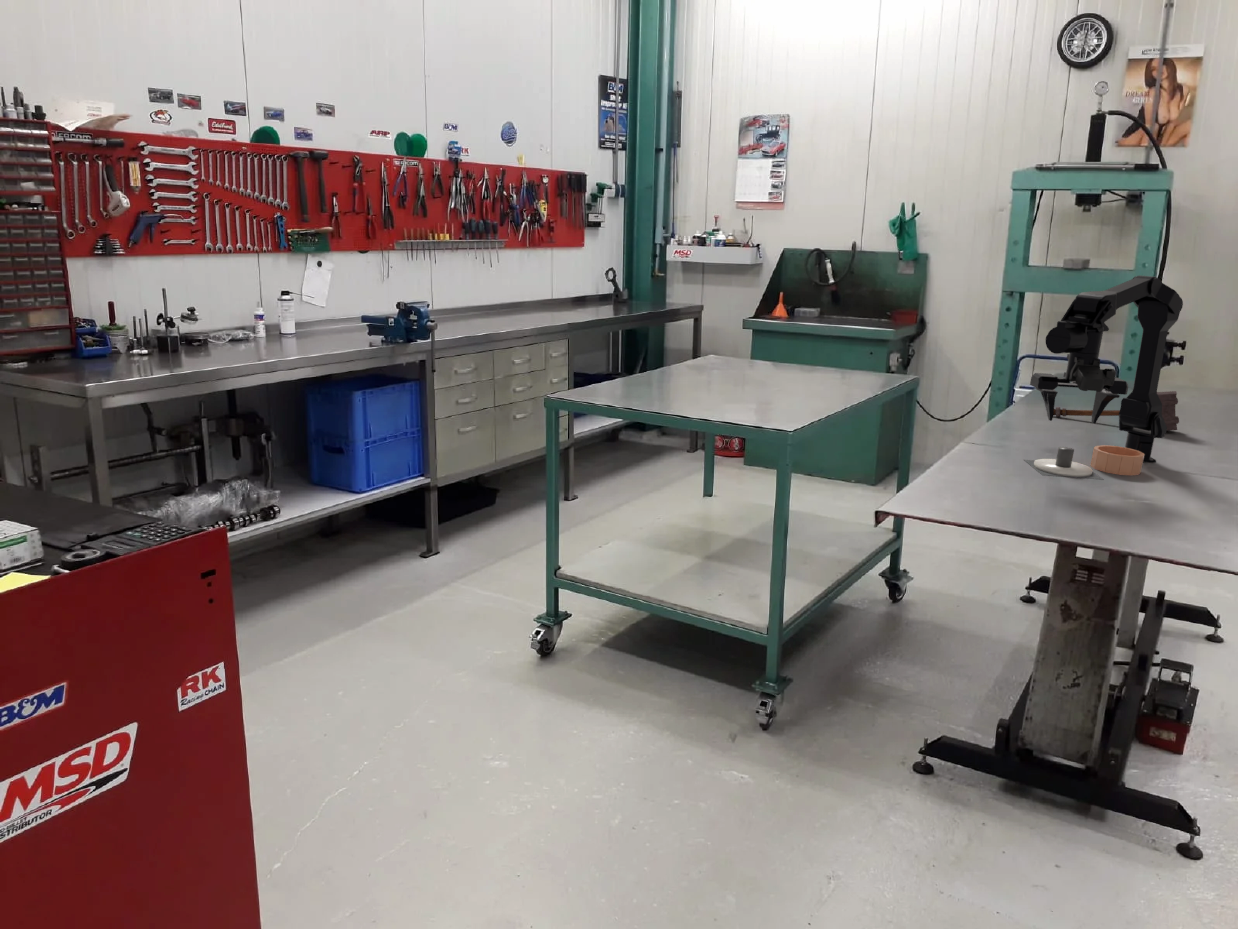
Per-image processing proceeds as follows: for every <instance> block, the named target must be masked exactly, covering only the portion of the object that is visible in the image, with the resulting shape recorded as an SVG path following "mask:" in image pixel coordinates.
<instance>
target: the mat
mask: <svg viewBox="0 0 1238 929" xmlns="http://www.w3.org/2000/svg"><path fill="white" fill-rule="evenodd" d="M1035 460H1036V459H1035ZM1035 460H1034V459H1033V460H1032V459H1023V461H1024V462H1025V463H1026V464H1027V465H1029V466H1030V467H1031V468H1033V469H1034V471H1036V472H1037V473H1039V474H1040V475H1041V476H1047V477H1061V478H1062V477H1063V478H1076V479H1087V480H1088V479H1090V480H1101V481H1104V479H1105V478H1103V477H1101V476H1100V475H1098V474H1097V473H1096V472H1094V471H1093V472H1092V475H1090V476H1085V477H1072V476H1063V475H1057V474H1052V473H1048V472H1044V471H1042V470H1039V469H1037V468H1035V467H1034V461H1035Z"/></svg>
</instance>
